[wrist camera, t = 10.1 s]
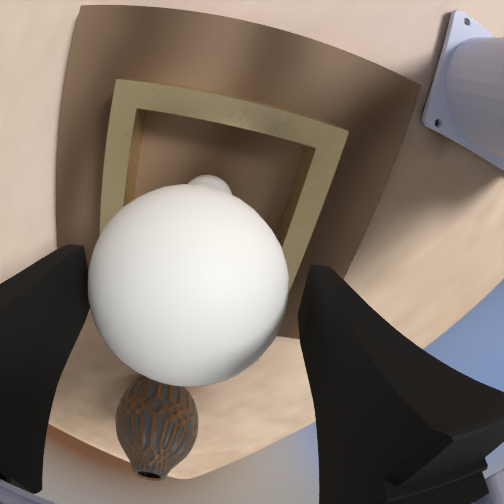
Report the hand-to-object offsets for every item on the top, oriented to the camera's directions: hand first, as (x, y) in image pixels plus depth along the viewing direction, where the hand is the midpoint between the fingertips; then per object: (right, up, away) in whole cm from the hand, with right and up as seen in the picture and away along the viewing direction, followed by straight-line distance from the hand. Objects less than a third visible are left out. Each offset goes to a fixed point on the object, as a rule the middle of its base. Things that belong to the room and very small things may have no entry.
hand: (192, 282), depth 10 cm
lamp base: (0, +4, +7) cm, 9 cm away
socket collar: (0, +4, +7) cm, 9 cm away
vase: (-6, -11, +17) cm, 21 cm away
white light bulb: (0, +4, +7) cm, 8 cm away
